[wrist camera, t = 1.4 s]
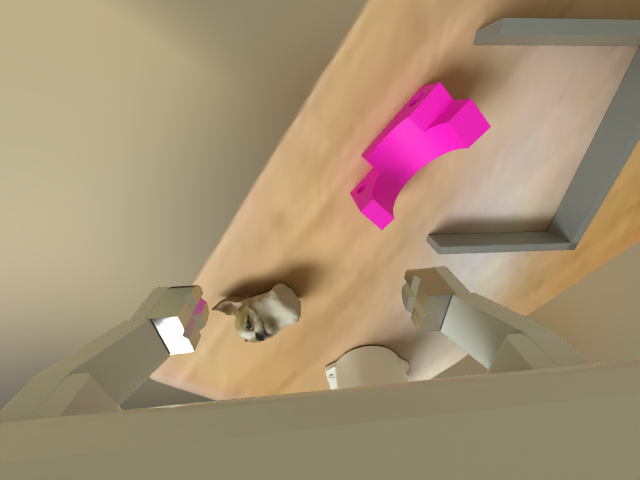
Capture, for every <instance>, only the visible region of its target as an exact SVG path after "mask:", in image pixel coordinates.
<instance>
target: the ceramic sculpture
mask: <svg viewBox="0 0 640 480" xmlns="http://www.w3.org/2000/svg"><path fill="white" fill-rule="evenodd" d="M212 310H218V311H221V312H223V313H225V314H227V315H234V316H236V322H235V327H236V330H237V331H238V333H239V334H240V335H241V336H242V337H243V338H244V339H245V342H246V341H250V342H259V341H263V340H265V339H269V338H271V337H273V335H275V334H276V333H277V332H278V331H280V330H281V329H282V328H283V327H284V326H285V325H287V324H295V323H297V322H298V320H299V318H300V315H301V304H300V301H299V300H298V299H297V297H296V295H295V292H294V291H293V290H292V289H291V288H289V287H287V286H286V285H285V284H282V283H279V284H277V285H275V286H274V287H273V288H272V289H271V291H270V292H267V293H264V294H261V295H257V296H254V297H243V296H231V297H228V298H226V299H224V300H222V301H221V302H219V303H218V304H217V305H216V306H215V307H214V308H212Z"/></svg>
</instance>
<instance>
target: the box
mask: <svg viewBox="0 0 640 480" xmlns="http://www.w3.org/2000/svg"><path fill="white" fill-rule="evenodd" d="M473 45H570V46H640V20H631V19H557V18H502V19H500V20H498V21H496V22H494V23H492V24H490V25H488V26H486V27H484V28H482V29H480V30H477V32H476V36H475V40H474V44H473ZM639 139H640V47H639V49H638V51H637V52H636V54H635V56H634V58H633V60H632V62H631V64H630V66H629V68H628V70H627V72H626V74H625V76H624V78H623V80H622V82H621V84H620V86H619V88H618V90H617V92H616V94H615V96H614V98H613V100H612V102H611V104H610V106H609V108H608V110H607V112H606V114H605V116H604V118H603V120H602V122H601V124H600V126H599V128H598V130H597V132H596V134H595V136H594V138H593V140H592V142H591V144H590V146H589V148H588V150H587V152H586V154H585V156H584V158H583V160H582V162H581V164H580V166H579V168H578V170H577V172H576V174H575V176H574V178H573V180H572V182H571V184H570V186H569V188H568V190H567V192H566V194H565V196H564V198H563V200H562V202H561V204H560V206H559V208H558V210H557V212H556V214H555V216H554V218H553V220H552V222H551V224H550V226H549V228H548V230H547V231H538V232H504V233H471V234H437V235H428V237H427V242H428V243H429V244H430V245H431V247H432V248H433V249H434V250H435V251H436V252H437V253H438V254H459V253H489V252H518V251H548V250H574V249H575V248H576V246H577V244H578V243H579V241H580V239H581V238H582V236H583V234H584V232H585V231H586V229H587V227H588V226H589V224H590V222H591V221H592V219H593V217H594V215H595V214H596V212H597V210H598V209H599V207H600V205H601V204H602V202H603V200H604V198H605V197H606V195H607V193H608V192H609V190H610V188H611V187H612V185H613V183H614V181H615V180H616V178H617V176H618V175H619V173H620V171H621V170H622V168H623V166H624V164H625V163H626V161H627V159H628V158H629V156H630V154H631V153H632V151H633V149H634V147H635V146H636V144H637V142H638V141H639Z"/></svg>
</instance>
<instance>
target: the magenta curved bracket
mask: <svg viewBox="0 0 640 480" xmlns="http://www.w3.org/2000/svg"><path fill="white" fill-rule="evenodd" d="M490 127H491V126H490V125H489V123H488V122H487V121H486V119H485V118H484V116H483V115H482V113H481V112H480V111H479V109H478V108H477V106H476V105H475V104H474V102H473V101H472V99H461V100H453V99H452V97H451V96H450V95H449V93H448V92H447V91H446V89H445V88H444V87H443V85H442V84H441V82H438V83H433V84H429V85H425V86H422V87H421V88H420V89H419V90H418V91H417V92H416V94H415V95H414V96H413V97H412V98H411V99H410V100H409V102H408V103H407V104H406V105H405V106H404V107H403V108H402V109H401V111H400V112H399V113H398V114H397V115H396V116H395V117H394V119H393V120H392V121H391V122H390V123H389V124H388V125H387V127H386V128H385V129H384V130H383V131H382V132H381V133H380V135H379V136H378V137H377V138H376V139H375V140H374V141H373V142H372V144H371V145H370V146H369V147H368V148H367V149H366V150H365V152H364V153H363V154H362V155H361V156H362V157H363V158H364V159H365V160H366V161H367V162H368V163H369V164H370V165H371V166H372V167H373V169H372V170H371V171H370V172H369V173H368V175H367V176H366V177H365V178H364V179H363V180H362V181H361V182H360V183H359V184H358V185H357V187H356V188H355V189H354V190H353V191H352V192H351V193H350V194H351V196H352V197H353V199H354V201H355V203H356V205H357V206H358V208H359V210H360V212H361V213H362V214H364V215H365V216H366V217H367V218H368V219H370V220H371V221H372V222H373V223H374V224H375V225H377V226H378V227H379V228H380V229H381V230H383V229H384V228H385V227H386V226H387V225H388V224H389V223H390V222H391V221H392V220H393V219H394V216H393V206H394V203H395V200H396V198H397V196H398V194H399V192H400V191H401V189H402V188H403V186H404V185H405V184H406V183H407V181H408V180H409V179H410V178H411V177H412V176H413V175H414V174H415V173H416V172H417V171H418V170H420V169H421V168H422V167H423V166H425V165H426V164H427V163H429V162H430V161H432V160H434V159H435V158H437V157H439V156H441V155H443V154H445V153H447V152H450V151H453V150H457V149H462V148H469V147H470V146H471V145H472V144H473V143H474V142H475V141H476V140H477V139H478V138H479V137H481V136H482V135H483V134H484V133H485V132H486V131H487V130H488V129H489V128H490Z"/></svg>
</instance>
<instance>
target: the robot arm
mask: <svg viewBox="0 0 640 480" xmlns="http://www.w3.org/2000/svg"><path fill="white" fill-rule="evenodd" d="M404 278H405V280H406V283H405V284H404V285H403V287H402V300H403V303H404V305H405V307H406V309H407V310H408V311H410V312H411V313H412V316H411V319H412V321H413V323H414V324H415V326H416V328H417V330H418V332H425V331H440V332H442V333H443V334H444V335H445V336H447V337H448V338H449V339H450V340H452V341H453V342H454V343H455V344H457V345H458V346H459V347H461V348H462V349H463V350H464V351H466V352H467V353H468V354H469V355H471V356H472V357H473V358H475V359H476V360H477V361H478V362H480V363H481V364H482V365H483V366H485V367H486V368H487V369H488V371H487V373H486V374H480V375H470V376H460V377H450V378H441V379H430V380H420V381H410V382H408V379H407V376H406V373H407V371H408V370H409V364H408V362H407V361H405V360H402V359H400V358H399V357H398V356H397V355H396V354H395V353H394V352H393V351H391V350H390V349H387V348H384V347H380V346H365V347H360V348H357V349H354V350H351V351H349V352H348V353H346V354H344V355H343V356H342V357H341V358H340V359H339V360H338V361H336V362H335V363H332V364H330V365H328V366H327V367H326V368H325V372H326V375H327V379H328V382H329V385H330V388H331V390H322V391H312V392H302V393H291V394H281V395H271V396H261V397H251V398H241V399H231V400H221V401H211V402H201V403H191V404H181V405H171V406H162V407H151V408H142V409H131V410H122V409H121V408H120V407H119V406H120V405H121V404H122V403H123V402H124V401H125V400H126V399H127V398H128V397H129V396H130V395H131V394H132V393H133V392H134V391H135V390H136V389H137V388H138V387H139V386H140V385H141V384H142V383H143V382H144V381H145V380H146V379H147V378H148V377H149V376H150V375H151V374H152V373H153V372H154V371H155V370H156V369H157V368H158V367H159V366H160V365H161V364H162V363H163V362H164V361H165V360H166V359H167V358H168V357H169V356H170V355H171V354H180V353H188V352H194V351H195V349H196V347H197V344H198V342H199V340H200V337H201V335H200V332H199V331H200V330H201V329H202V328H204V327H205V325H206V323H207V320H208V314H209V310H208V305H207V302H206V301H205V300H203V299H202V298H201V297H202V295H203V292H202V289H201V287H200V286H198V285H193V286H176V287H175V286H174V287H159V288H156V289H154V290H153V291H152V292H151V294H150V295H149V296H148V297H147V299H146V300H145V301H144V302H143V304H142V305H141V306H140V307H139V309H138V310H137V311H136V313H135V314H134V315H133V316H132V318H131V319H130V320H129V321H124V322H122V323H121V324H119V325H117V326H116V327H114V328H112V329H111V330H109V331H107V332H106V333H104V334H103V335H101V336H99V337H98V338H96V339H94V340H93V341H91V342H89V343H88V344H86V345H85V346H83V347H81V348H80V349H78V350H76V351H75V352H73V353H71V354H70V355H68V356H67V357H65V358H63V359H62V360H60V361H58V362H57V363H55V364H53V365H52V366H50V367H49V368H47V369H45V370H44V371H42V372H40V373H39V374H37V375H35V376H34V377H33V378H32V379H31V380H30V381H29V382H28V383H27V384H26V385H25V386H24V387H23V388H22V389H21V391H19V392H18V393H17V394H16V396H15V397H14V398H13V399H12V400H11V401H10V402H9V403H8V404H7V405H6V406H5V407H4V408H3V409H2V410H1V411H0V480H640V359H630V360H620V361H611V362H600V363H591V364H590V363H589V362H588V361H587V360H586V359H585V358H583V357H582V356H581V355H580V354H579V353H578V352H577V351H576V350H574V349H573V348H572V347H571V346H570V345H569V344H568V343H566V342H565V341H564V340H563V339H562V338H561V337H560V336H559V335H557V334H556V333H555V332H554V331H553V330H552V329H550V328H548V327H546V326H543V325H541V324H539V323H537V322H535V321H533V320H531V319H529V318H527V317H524V316H522V315H520V314H518V313H516V312H514V311H512V310H510V309H508V308H505V307H503V306H501V305H499V304H497V303H495V302H493V301H491V300H489V299H486V298H484V297H482V296H480V295H478V294H476V293H470V292H469V291H468V290H467V289H466V288H465V287H464V285H463V284H462V283H461V282H460V281H459V280H458V279H457V278H456V277H455V276H454V275H453V274H452V272H451V271H450V270H449V269H448V268H447V267H444V266H441V267H432V268H423V269H410V270H407V271H406V272H405V277H404Z"/></svg>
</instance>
